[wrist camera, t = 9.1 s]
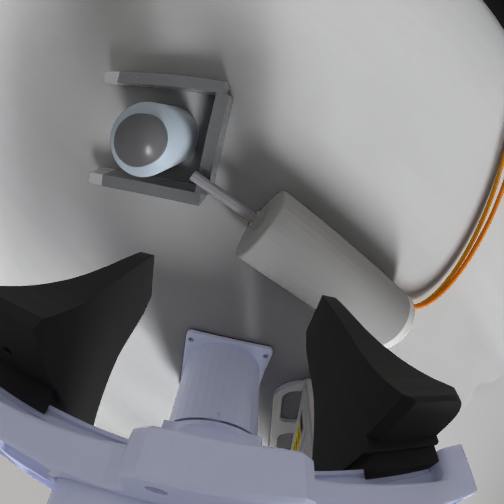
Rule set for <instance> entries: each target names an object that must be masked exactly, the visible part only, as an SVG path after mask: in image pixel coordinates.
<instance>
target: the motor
mask: <svg viewBox="0 0 504 504" xmlns="http://www.w3.org/2000/svg"><path fill="white" fill-rule="evenodd" d="M503 166H504V151H503V155H502V158H501V162H500V166H499V169H498V173H497V176H496V179H495V182H494V185H493V188H492V191H491V194H490V197H489V199H488V202H487V205H486V207H485V210H484V212H483V214H482V217H481V219H480V221H479V224H478V226H477V228H476V230H475V232H474V234H473V236H472V238H471V240H470V242H469V244H468V246H467V248H466V250H465V251H464V253H463V255H462V257H461V258H460V260H459V262H458V263H457V265H456V266H455V268H454V269H453V270H452V272H451V273H450V275H449V276H448V277H447V279H446V280H445V281H444V282H443V284H442V285H441V286H440V287H439V288H438V289H437V290H436V291H435V292H434V293H433V294H432V295H431V296H430V297H428V298H427V299H425V300H424V301H422V302H420V303H418V304H413V302H412V300H411V298H410V297H409V296H407V295H406V294H405V293H404V292H403V291H402V290H401V289H400V288H399V287H398V286H397V285H396V284H395V283H394V282H393V281H391V280H390V279H389V278H388V277H387V276H386V275H385V274H384V273H383V272H382V271H380V270H379V269H378V268H377V267H376V266H375V265H374V264H373V263H372V262H370V261H369V260H368V259H367V258H366V257H365V256H364V255H362V254H361V253H360V252H359V251H358V250H357V249H356V248H354V247H353V246H352V245H351V244H350V243H349V242H347V241H346V240H345V239H344V238H343V237H341V236H340V235H339V234H338V233H337V232H336V231H334V230H333V229H332V228H331V227H330V226H328V225H327V224H326V223H325V222H323V221H322V220H321V219H320V218H319V217H317V216H316V215H315V214H314V213H312V212H311V211H310V210H309V209H307V208H306V207H305V206H304V205H302V204H301V203H300V202H299V201H297V200H296V199H295V198H293V197H292V196H291V195H290V194H288V193H287V192H286V191H281V192H279V193H278V194H276V195H275V196H274V197H272V198H271V199H270V200H269V201H268V202H267V203H266V205H265V206H264V207H263V208H262V209H261V210H260V211H257V212H256V213H255V212H253V211H252V210H251V209H249V208H248V207H246V206H245V205H244V204H242V203H241V202H240V201H238V200H237V199H235V198H234V197H233V196H231V195H230V194H228V193H227V192H226V191H224V190H223V189H221V188H220V187H218V186H217V185H216V184H214V183H213V182H211V181H210V180H208V179H207V178H206V177H204V176H203V175H201V174H200V173H198V172H197V171H195V172H194V173H193V174H192V176H191V177H190V180H191V181H193V182H194V183H195V184H197V185H198V186H200V187H201V188H203V189H204V190H205V191H207V192H208V193H210V194H211V195H212V196H214V197H215V198H217V199H218V200H220V201H221V202H222V203H224V204H225V205H227V206H228V207H229V208H231V209H232V210H234V211H235V212H236V213H238V214H239V215H241V216H242V217H243V218H245V219H246V220H248V221H249V224H248V226H249V227H248V228H247V230H246V232H245V233H244V235H243V237H242V239H241V241H240V243H239V245H238V248H237V257H238V258H240V259H241V260H243V261H244V262H246V263H247V264H249V265H250V266H251V267H253V268H254V269H256V270H257V271H259V272H260V273H262V274H263V275H265V276H266V277H268V278H269V279H271V280H272V281H274V282H275V283H277V284H278V285H280V286H281V287H283V288H284V289H286V290H287V291H289V292H290V293H291V294H293V295H294V296H296V297H297V298H299V299H300V300H302V301H303V302H305V303H306V304H308V305H309V306H311V307H312V308H314V309H315V310H316V308H317V306H318V304H319V301H320V299H321V297H322V295H325V296H330V297H335V298H336V299H338V300H339V301H340V302H341V303H342V304H343V305H344V306H345V307H346V308H347V309H348V311H349V312H350V313H351V314H352V315H353V316H354V317H355V318H356V319H357V320H358V321H359V322H360V323H361V324H362V326H363V327H364V328H365V329H366V330H367V331H368V332H369V333H370V334H371V335H372V336H374V337H375V338H376V339H377V340H378V341H379V342H380V343H381V344H382V345H383V346H385V347H386V348H390V347H392V346H394V345H395V344H397V343H398V342H400V341H401V340H402V339H403V338H404V337H405V336H406V334H407V333H408V332H409V330H410V328H411V326H412V323H413V319H414V314H415V309H419V308H422V307H425V306H427V305H429V304H431V303H432V302H434V301H435V300H437V299H438V298H439V297H440V296H441V295H442V294H444V293H445V292H446V291H447V290H448V289H449V288H450V286H451V285H452V284H453V283H454V282H455V281H456V279H457V278H458V277H459V275H460V274H461V273H462V272H463V270H464V269H465V267H466V266H467V264H468V263H469V261H470V260H471V258H472V257H473V255H474V253H475V252H476V250H477V248H478V247H479V245H480V243H481V241H482V239H483V237H484V236H485V234H486V232H487V230H488V228H489V226H490V224H491V221H492V219H493V217H494V215H495V213H496V210H497V208H498V205H499V203H500V201H501V198H502V195H503V193H504V180H503V183H502V186H501V189H500V191H499V194H498V196H497V199H496V201H495V204H494V206H493V209H492V211H491V213H490V216H489V218H488V220H487V222H486V224H485V226H484V228H483V230H482V232H481V233H480V235H479V237H478V239H477V241H476V243H475V244H474V242H475V240H476V238H477V236H478V234H479V232H480V229H481V227H482V225H483V223H484V221H485V218H486V216H487V213H488V211H489V208H490V206H491V203H492V201H493V198H494V195H495V192H496V189H497V186H498V183H499V180H500V177H501V173H502V170H503ZM473 244H474V246H473ZM472 246H473V248H472ZM471 248H472V250H471V251H470V249H471ZM469 251H470V253H469ZM468 253H469V255H468ZM467 255H468V256H467ZM466 256H467V258H466ZM465 258H466V260H465ZM464 260H465V261H464ZM463 261H464V263H463ZM462 263H463V264H462ZM460 266H461V267H460ZM458 269H459V270H458Z"/></svg>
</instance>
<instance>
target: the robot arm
mask: <svg viewBox="0 0 504 504" xmlns="http://www.w3.org/2000/svg"><path fill="white" fill-rule="evenodd" d="M153 264H154V255H150V254H146V253H143V252H140V253H137V254H134V255H132V256H130V257H127V258H125V259H123V260H120V261H118V262H116V263H114V264H111V265H109V266H107V267H104V268H101V269H99V270H96V271H94V272H91V273H88V274H85V275H82V276H79V277H75V278H72V279H68V280H64V281H58V282H53V283H48V284H41V285H32V286H0V454H1V455H2V456H4V457H5V458H7V459H8V460H9V461H10V462H12V463H13V464H15V465H16V466H17V467H19V468H20V469H22V470H23V471H24V472H26V473H27V474H29V475H30V476H32V477H33V478H35V479H37V480H38V481H39V482H41V483H43V484H44V485H46V486H48V487H49V488H51V489H52V492H51V494H50V497H49V500H48V502H47V504H457V503H459V502H461V501H462V500H464V499H466V498H467V497H469V496H471V495H472V494H474V493H475V492H476V491H477V487H476V484H475V482H474V478H473V475H472V472H471V469H470V467H469V464H468V461H467V458H466V455H465V453H464V450H463V448H462V445H460V444H459V445H455V446H451V447H446V448H443V449H441V450H439V451H437V452H436V450H435V447H434V445H437V444H438V439H437V436H436V435H437V434H438V433H439V432H440V431H441V430H442V429H444V428H445V427H446V426H447V425H448V424H449V423H450V422H451V421H452V420H453V419H454V417H455V416H456V415H457V413H458V412H459V410H460V408H461V400H460V398H459V396H458V394H457V392H456V390H455V389H454V387H452V386H449V385H447V384H445V383H442V382H440V381H438V380H435V379H433V378H431V377H429V376H427V375H426V374H424V373H422V372H420V371H418V370H417V369H415V368H413V367H412V366H410V365H409V364H407V363H406V362H404V361H403V360H401V359H400V358H399V357H397V356H396V355H394V354H393V353H392V352H391V351H389V350H388V349H387V348H386V347H385V346H383V345H382V344H381V343H380V342H379V341H378V340H377V339H376V338H375V337H374V336H372V335H371V334H370V333H369V332H368V331H367V330H366V329H365V328H364V327H363V326H362V324H361V323H360V322H359V321H358V320H357V319H356V318H355V317H354V316H353V315H352V314H351V313H350V312H349V311H348V309H347V308H346V307H345V306H344V305H343V304H342V303H341V302H340V301H339V300H338V299H336V298H335V297H330V296H325V295H322V297H321V299H320V301H319V304H318V306H317V308H316V311H315V313H314V315H313V318H312V320H311V322H310V324H309V327H308V329H307V331H306V347H307V357H308V364H309V370H310V376H311V383H312V389H313V398H314V439H313V452H312V459H310V458H309V457H308V456H306V455H305V454H303V453H302V452H300V451H294V450H289V449H284V448H277V447H267V446H262V437H261V436H257V430H258V407H259V384H260V382H261V379H262V377H263V375H264V372H265V370H266V368H267V365H268V363H269V360H270V358H271V356H272V353H273V349H272V348H271V347H269V346H264V345H259V344H254V343H249V342H244V341H240V340H235V339H230V338H226V337H221V336H217V335H213V334H209V333H204V332H200V331H196V330H188V331H187V334H186V341H185V349H184V357H183V365H182V374H181V382H180V386H179V389H178V392H177V396H176V399H175V403H174V406H173V410H172V413H171V417H170V420H169V421H168V420H164V422H163V425H162V427H156V426H149V427H142V428H137V429H133V431H132V433H131V435H130V437H129V439H126V438H123V437H121V436H118V435H115V434H113V433H110V432H107V431H105V430H102V429H100V428H97V427H95V426H93V425H94V421H95V418H96V414H97V411H98V407H99V404H100V401H101V398H102V395H103V392H104V390H105V387H106V384H107V382H108V379H109V376H110V374H111V371H112V369H113V367H114V364H115V362H116V360H117V357H118V355H119V354H120V352H121V350H122V348H123V346H124V345H125V343H126V341H127V340H128V338H129V337H130V335H131V333H132V332H133V330H134V328H135V327H136V325H137V323H138V322H139V320H140V319H141V317H142V315H143V314H144V311H145V309H146V307H147V305H148V302H149V300H150V298H151V293H152V277H153ZM190 338H193V339H190ZM265 354H267V355H265Z"/></svg>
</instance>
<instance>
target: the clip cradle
mask: <svg viewBox="0 0 504 504" xmlns="http://www.w3.org/2000/svg"><path fill="white" fill-rule="evenodd" d="M103 82H104V83H109V84H114V85H127V86H143V87H156V88H166V89H175V90H183V91H191V92H198V93H205V94H211V95H216V96H215V100H214V105H213V109H212V113H211V117H210V121H209V126H208V130H207V135H206V139H205V144H204V149H203V153H202V158H201V163H200V168H199V173H200V174H201V175H203V176H204V177H206V178H207V179H208V180H210V181H211V182H213V183H214V180H215V176H216V171H217V166H218V162H219V157H220V153H221V148H222V144H223V140H224V135H225V131H226V127H227V123H228V118H229V114H230V110H231V106H232V102H233V98H232V97H231V96H230V95H228V94H229V90H230V86H229V84H228V83H227V82H225V81H219V80H213V79H206V78H199V77H191V76H183V75H173V74H162V73H147V72H120V71H105V75H104V79H103ZM88 183H91V184H96V185H101V186H106V187H112V188H117V189H122V190H127V191H132V192H137V193H142V194H146V195H151V196H156V197H161V198H165V199H170V200H175V201H179V202H184V203H188V204H193V205H197V206H199V205H200V203H201V202H202V201H203V200H204V199H205V197H206V195H207V194H208V192H207V191H205V190H204V189H203V188H201V187H200V186H198V185H197V184H191V183H187V182H182V181H177V180H172V179H167V178H162V177H157V176H149V177H137V176H134V175H131V174H129V173H127V172H125V171H124V170H118V169H112V168H106V167H103V168H100V169H97V170H94V171H92V172H89V182H88Z"/></svg>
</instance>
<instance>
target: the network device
mask: <svg viewBox="0 0 504 504" xmlns="http://www.w3.org/2000/svg"><path fill="white" fill-rule="evenodd" d="M293 391H302V395H301V401H300V406H299V411H298V416H297V419H285V418H282V417H281V416H280V414H281V405H282V397H283V396H284V395H285V394H286V393H289V392H293ZM287 433H294V435H293V439H292V444H291V448H290V450H294V451H300V452H302V453H303V454H305V455H306V456H308V457H309V458H310V459H312V452H313V439H314V398H313V389H312V383H311V379H305V380H296V381H291V382H288V383H285V384H283V385H281V386H280V387H279V388H277V389H276V391H275V392H274V395H273V405H272V418H271V431H270V443H269V447H276V445H277V438H278V436H279V435H282V434H287Z"/></svg>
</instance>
